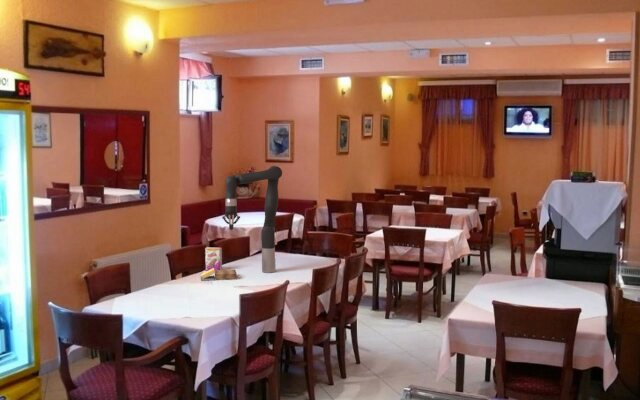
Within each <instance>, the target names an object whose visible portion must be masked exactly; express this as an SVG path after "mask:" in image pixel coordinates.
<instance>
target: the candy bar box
mask: <svg viewBox="0 0 640 400" xmlns="http://www.w3.org/2000/svg"><path fill="white" fill-rule="evenodd" d="M204 250H205V251H204V254H205V255H204V261H205V262H204V263H205V264H204V267H205V271H204V272H206V271H208V270H210V269H212V268H214V270H223V257H222V256H223V251H222V250H223V248H222V247H211V246H206V247H205V248H204Z"/></svg>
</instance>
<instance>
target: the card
mask: <svg viewBox="0 0 640 400" xmlns="http://www.w3.org/2000/svg"><path fill="white" fill-rule="evenodd" d="M213 275H215V270H214V268H212V269H210V270H208V271H204V272H203V273H201V276H202V278H203V279H204V278H206V277H208V276H213Z"/></svg>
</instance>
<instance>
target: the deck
mask: <svg viewBox="0 0 640 400" xmlns="http://www.w3.org/2000/svg"><path fill="white" fill-rule="evenodd" d="M237 275H238V274H237V271H236V269H222V270H215V273H214V278H215V280H214V281H227V280H230V281H231V280H237V277H238V276H237Z"/></svg>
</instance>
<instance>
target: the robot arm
mask: <svg viewBox="0 0 640 400" xmlns="http://www.w3.org/2000/svg"><path fill="white" fill-rule="evenodd" d="M282 176H283V170H282V169H281V167H279V166H277V165H271V166H270V167H269V168H268V169H266V170H261V171H260V170H259V171H252V172H244V173H240V174H235V175H229V176H227V177H226V178H225V180H224V182H225V184H226V185H225V186H226V187H225V188H226V191H225V204H224V205H225V214H224V215H222V220H224V222H225V224H227V225H228V226H229V227H228V228H229V230H230V231H233V230H234V225H236V224H237V223H238V221H239V220H240V219H241V216H240V215H239V214H238V212H237V210H238V209H237V185H247V184H251V183H254V182H259V181H266V180H267V188H266V190H265V191H266V192H265V200H264V221H263V226H262V229H261V232H260V233H261V235H260V236H261V272H262V273H266V274H267V273H269V274H271V273H276V243H275V237H276V236H275V234H276V216H277V211H278V206H279V181H280V178H281V177H282Z"/></svg>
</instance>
